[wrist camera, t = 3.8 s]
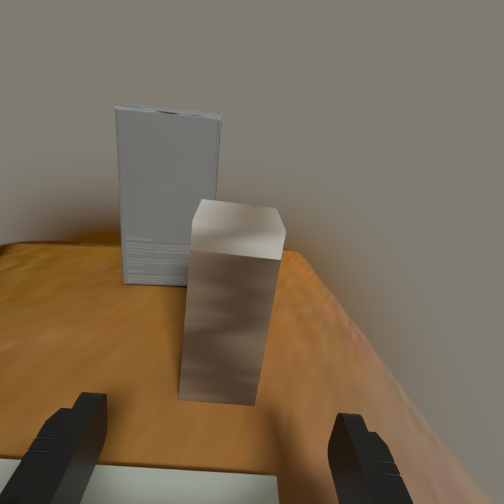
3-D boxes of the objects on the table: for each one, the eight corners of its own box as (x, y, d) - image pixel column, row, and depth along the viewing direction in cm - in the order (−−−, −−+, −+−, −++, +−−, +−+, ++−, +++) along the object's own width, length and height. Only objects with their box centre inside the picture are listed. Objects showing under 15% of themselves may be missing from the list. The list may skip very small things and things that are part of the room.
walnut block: (178, 399, 20) (192, 220, 16) (188, 351, 25) (201, 199, 21) (254, 405, 21) (285, 231, 17) (251, 356, 25) (276, 208, 21)
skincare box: (208, 263, 39) (224, 113, 33) (208, 294, 33) (228, 114, 27) (130, 257, 38) (132, 100, 32) (114, 288, 31) (113, 97, 26)
